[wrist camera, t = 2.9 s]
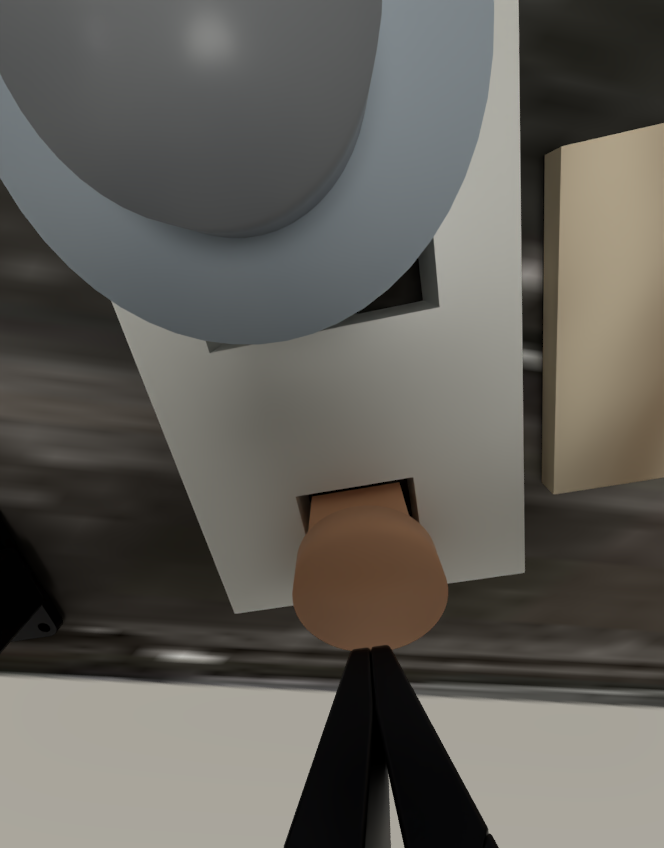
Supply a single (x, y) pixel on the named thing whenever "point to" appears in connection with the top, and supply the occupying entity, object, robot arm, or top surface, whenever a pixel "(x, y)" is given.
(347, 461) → the white tray
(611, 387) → the pad
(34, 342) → the top surface
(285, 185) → the cylinder
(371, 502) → the plunger
